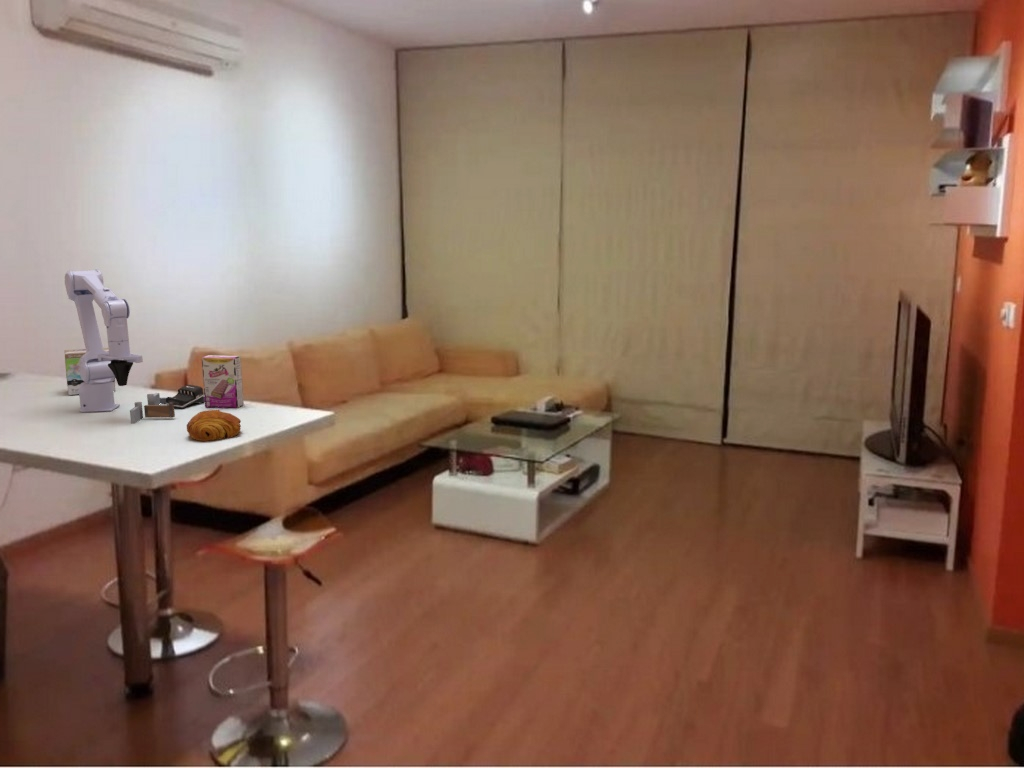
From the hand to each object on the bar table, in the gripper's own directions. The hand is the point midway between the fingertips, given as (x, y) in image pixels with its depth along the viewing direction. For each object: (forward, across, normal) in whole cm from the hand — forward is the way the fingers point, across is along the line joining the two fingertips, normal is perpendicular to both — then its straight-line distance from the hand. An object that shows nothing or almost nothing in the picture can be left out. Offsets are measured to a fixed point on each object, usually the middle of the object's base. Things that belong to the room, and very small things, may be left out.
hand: (122, 385), depth 257 cm
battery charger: (+8, +5, +16) cm, 18 cm away
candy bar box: (+11, +18, +23) cm, 31 cm away
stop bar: (+10, +1, +24) cm, 26 cm away
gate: (+10, +10, +3) cm, 14 cm away
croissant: (+11, +38, -9) cm, 40 cm away
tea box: (+11, -42, +31) cm, 53 cm away
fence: (+10, +1, +7) cm, 13 cm away
